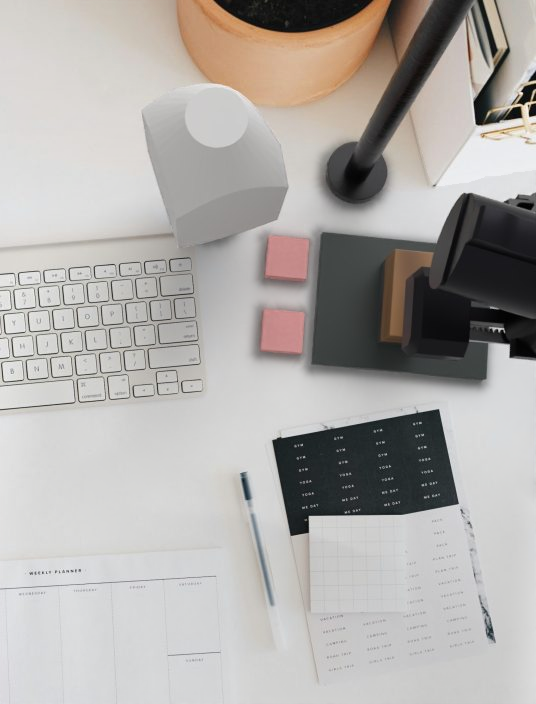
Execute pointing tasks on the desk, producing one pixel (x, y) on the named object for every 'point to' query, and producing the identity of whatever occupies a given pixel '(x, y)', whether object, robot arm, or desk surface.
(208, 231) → the light fixture
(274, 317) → the crumb
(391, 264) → the brown block
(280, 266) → the crumb
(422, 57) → the desk lamp
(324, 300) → the slate
